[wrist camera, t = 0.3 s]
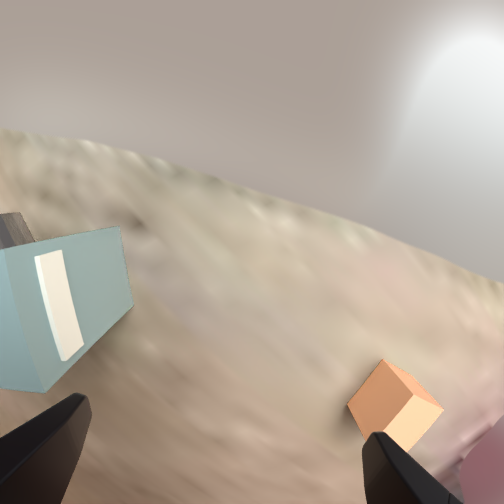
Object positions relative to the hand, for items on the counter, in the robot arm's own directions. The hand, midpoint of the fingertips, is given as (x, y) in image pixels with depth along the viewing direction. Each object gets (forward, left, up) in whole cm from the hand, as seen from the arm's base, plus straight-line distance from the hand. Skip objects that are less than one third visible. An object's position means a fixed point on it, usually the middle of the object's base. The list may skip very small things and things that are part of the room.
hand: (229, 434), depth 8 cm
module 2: (+4, -15, -15) cm, 21 cm away
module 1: (-7, +8, -15) cm, 18 cm away
